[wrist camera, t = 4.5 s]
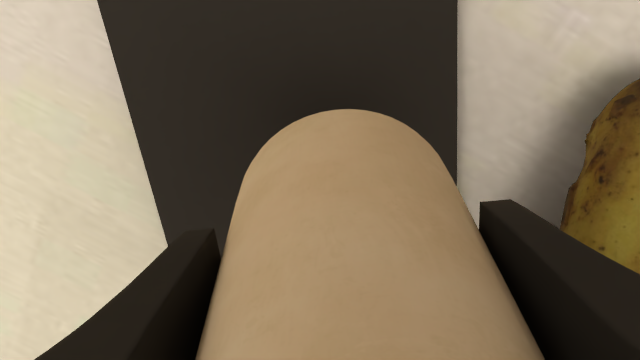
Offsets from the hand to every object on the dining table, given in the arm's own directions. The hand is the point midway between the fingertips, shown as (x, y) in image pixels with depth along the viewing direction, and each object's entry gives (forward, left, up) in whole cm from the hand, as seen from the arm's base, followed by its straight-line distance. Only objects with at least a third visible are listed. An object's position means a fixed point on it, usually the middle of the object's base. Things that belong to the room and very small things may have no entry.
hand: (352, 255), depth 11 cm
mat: (-4, +2, -10) cm, 11 cm away
